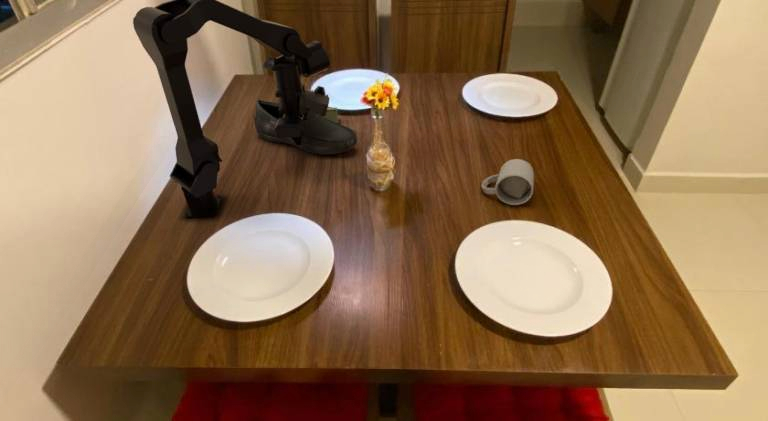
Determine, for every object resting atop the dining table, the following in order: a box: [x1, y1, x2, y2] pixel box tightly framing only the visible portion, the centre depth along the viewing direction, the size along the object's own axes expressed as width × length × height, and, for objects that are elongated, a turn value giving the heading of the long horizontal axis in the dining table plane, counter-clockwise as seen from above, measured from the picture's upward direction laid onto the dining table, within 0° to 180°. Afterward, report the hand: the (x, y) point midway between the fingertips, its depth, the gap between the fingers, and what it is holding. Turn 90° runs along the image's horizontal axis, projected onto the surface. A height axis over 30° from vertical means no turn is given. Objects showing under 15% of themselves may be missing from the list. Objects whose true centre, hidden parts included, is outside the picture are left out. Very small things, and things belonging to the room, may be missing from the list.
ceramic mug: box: [481, 158, 535, 206], centre depth 95 cm, size 11×8×8 cm
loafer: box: [253, 99, 358, 156], centre depth 112 cm, size 10×29×10 cm, turn 71°
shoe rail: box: [317, 107, 339, 124], centre depth 121 cm, size 2×18×5 cm, turn 93°
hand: (299, 144), depth 108 cm, fingers closed
